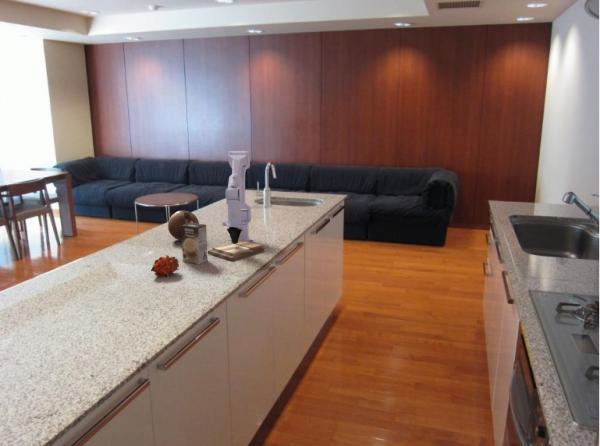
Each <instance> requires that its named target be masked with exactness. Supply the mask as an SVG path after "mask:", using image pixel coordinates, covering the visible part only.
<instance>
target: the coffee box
mask: <svg viewBox="0 0 600 446" xmlns="http://www.w3.org/2000/svg"><path fill="white" fill-rule="evenodd" d="M181 234H182V241H181V249H182V252H181V253H182V262H185V263H191V264H196V265H200V264H202V263H205V262H207V261H208V240H207V239H208V237H207V235H208V234H207V224H204V223H203V224H202V223H199V224H197V223H190V222H189V223H187V224H184V225H182V226H181Z"/></svg>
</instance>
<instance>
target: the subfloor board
mask: <svg viewBox="0 0 600 446" xmlns="http://www.w3.org/2000/svg"><path fill="white" fill-rule="evenodd" d="M230 243H232V241H230ZM232 244H233V243H232ZM236 245H239V246H243V247H247V248H250V251H248V252H245V253H242V254H239V255H236V256H231V255H227V254H224V253H221V252H217V251H214V250H213V248H211V249H209V250H207V255H210V256H213V257H217V258H219V259H224V260H227V261H231V262H232V261H235V260H239V259H242V258H246V257H248V256H253V255H256V254H258V253H262V252H265V247H263V246H262V244H259V243H255V242H252V241H244V240H239V241H238V243H237V244H236Z"/></svg>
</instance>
